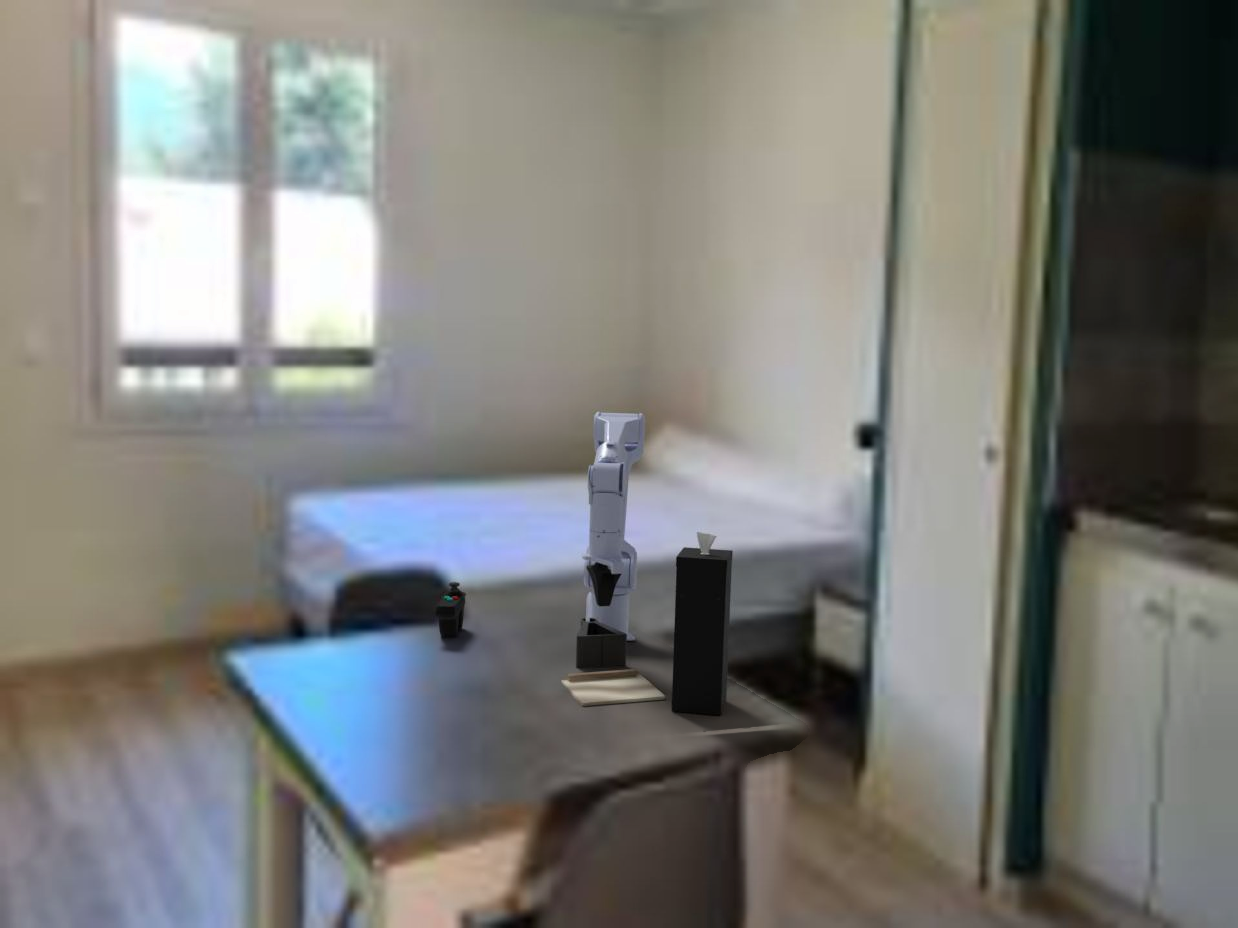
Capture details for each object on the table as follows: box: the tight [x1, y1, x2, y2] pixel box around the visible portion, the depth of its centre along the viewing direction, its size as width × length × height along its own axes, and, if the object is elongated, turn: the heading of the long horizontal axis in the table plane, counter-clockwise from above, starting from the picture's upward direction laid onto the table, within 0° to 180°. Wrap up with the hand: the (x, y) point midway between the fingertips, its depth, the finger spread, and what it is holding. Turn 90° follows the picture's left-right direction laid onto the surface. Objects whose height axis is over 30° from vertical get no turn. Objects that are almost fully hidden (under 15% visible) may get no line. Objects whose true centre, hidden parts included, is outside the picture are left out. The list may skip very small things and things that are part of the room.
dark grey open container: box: [575, 617, 628, 669], centre depth 211 cm, size 9×6×12 cm
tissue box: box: [671, 531, 734, 716], centre depth 185 cm, size 8×8×28 cm
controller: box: [434, 581, 467, 638], centre depth 220 cm, size 4×12×10 cm, turn 177°
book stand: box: [561, 668, 666, 707], centre depth 193 cm, size 12×14×2 cm
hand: (603, 605), depth 209 cm, fingers closed
